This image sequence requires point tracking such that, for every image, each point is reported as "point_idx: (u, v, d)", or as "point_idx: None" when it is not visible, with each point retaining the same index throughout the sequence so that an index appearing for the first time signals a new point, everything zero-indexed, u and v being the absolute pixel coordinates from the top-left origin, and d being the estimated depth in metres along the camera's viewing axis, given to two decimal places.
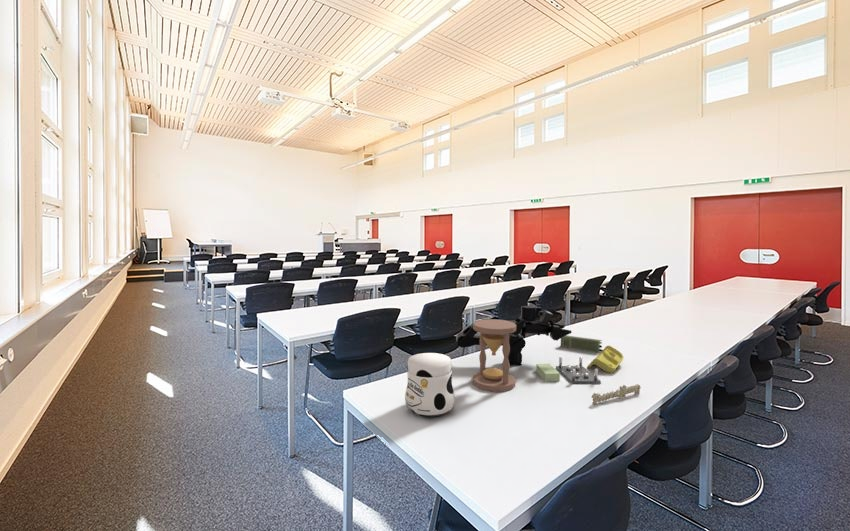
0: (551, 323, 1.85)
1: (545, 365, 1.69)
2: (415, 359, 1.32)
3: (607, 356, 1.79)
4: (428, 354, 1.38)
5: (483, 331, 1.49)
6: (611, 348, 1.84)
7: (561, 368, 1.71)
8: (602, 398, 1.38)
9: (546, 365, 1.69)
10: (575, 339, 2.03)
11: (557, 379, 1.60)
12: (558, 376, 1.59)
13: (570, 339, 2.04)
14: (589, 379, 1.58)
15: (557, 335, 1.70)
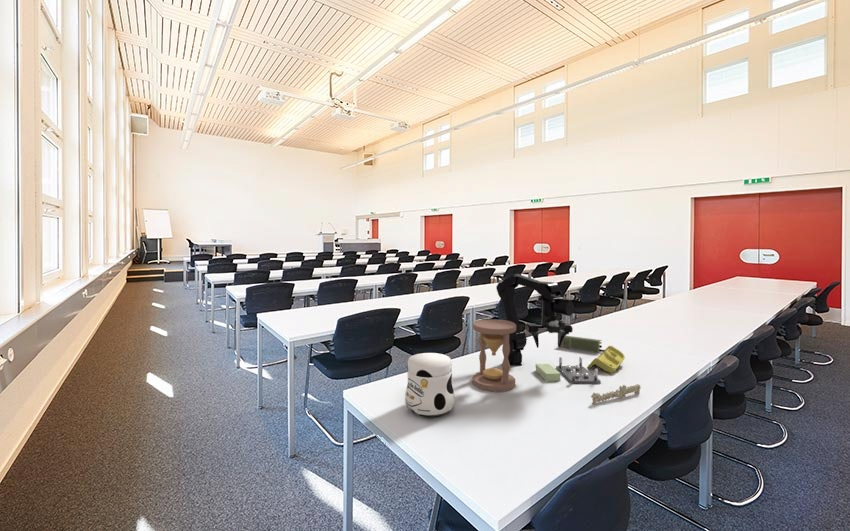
0: (561, 334, 1.63)
1: (544, 365, 1.69)
2: (415, 359, 1.32)
3: (608, 356, 1.78)
4: (428, 354, 1.38)
5: (483, 331, 1.49)
6: (613, 348, 1.84)
7: (561, 368, 1.71)
8: (602, 398, 1.39)
9: (545, 365, 1.69)
10: (575, 339, 2.02)
11: (558, 379, 1.60)
12: (559, 376, 1.60)
13: (570, 339, 2.03)
14: (589, 379, 1.58)
15: (526, 329, 1.64)
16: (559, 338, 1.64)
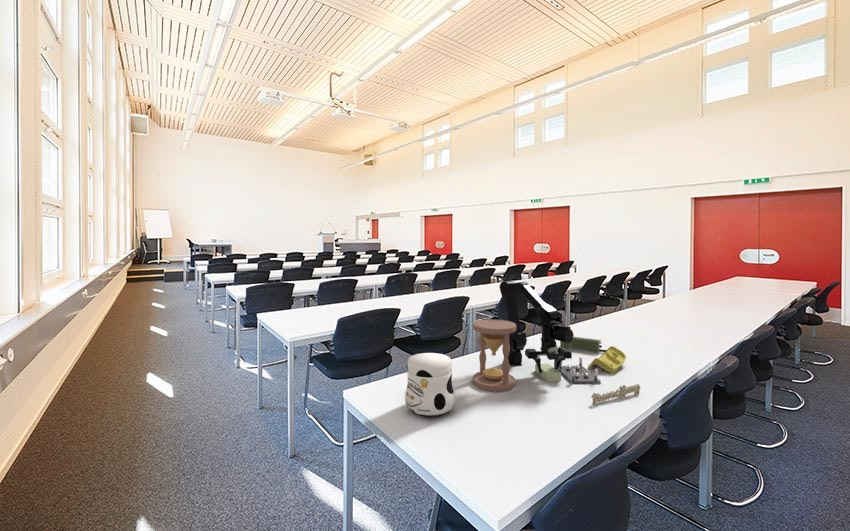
0: (557, 359, 1.64)
1: (544, 365, 1.69)
2: (415, 359, 1.32)
3: (609, 356, 1.78)
4: (428, 354, 1.38)
5: (483, 331, 1.49)
6: (614, 349, 1.83)
7: (561, 368, 1.71)
8: (602, 398, 1.39)
9: (545, 365, 1.69)
10: (575, 339, 2.02)
11: (558, 379, 1.60)
12: (559, 375, 1.60)
13: None
14: (589, 379, 1.58)
15: (526, 354, 1.65)
16: (555, 364, 1.65)
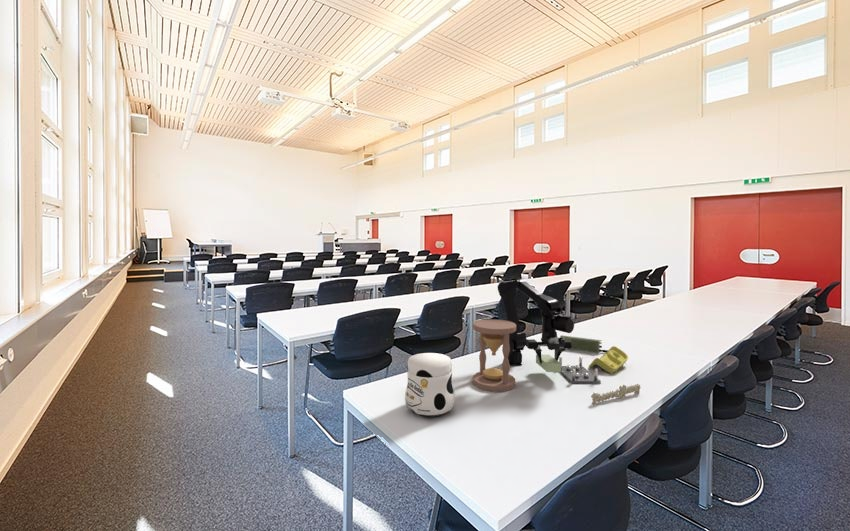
0: (557, 350, 1.63)
1: (545, 356, 1.69)
2: (415, 359, 1.32)
3: (611, 357, 1.78)
4: (428, 354, 1.38)
5: (483, 331, 1.49)
6: (616, 349, 1.83)
7: (561, 368, 1.71)
8: (602, 398, 1.39)
9: (546, 356, 1.69)
10: (575, 339, 2.02)
11: (558, 369, 1.59)
12: (559, 366, 1.59)
13: (570, 339, 2.03)
14: (589, 379, 1.58)
15: (526, 345, 1.65)
16: (556, 354, 1.64)
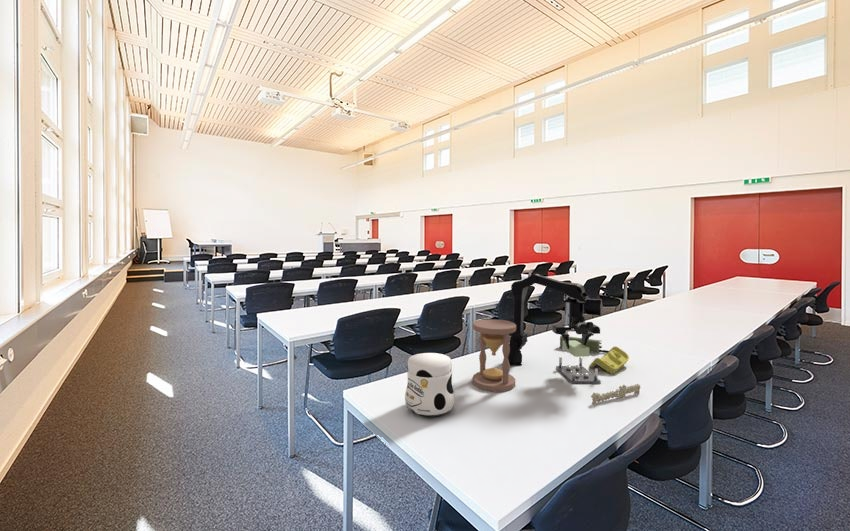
0: (585, 335, 1.63)
1: (572, 341, 1.68)
2: (415, 359, 1.32)
3: (611, 357, 1.78)
4: (428, 354, 1.38)
5: (483, 331, 1.49)
6: (617, 349, 1.82)
7: (561, 368, 1.71)
8: (602, 398, 1.39)
9: (573, 341, 1.68)
10: None
11: (587, 354, 1.59)
12: (588, 351, 1.58)
13: (570, 340, 2.02)
14: (589, 379, 1.58)
15: (553, 330, 1.64)
16: (583, 339, 1.64)
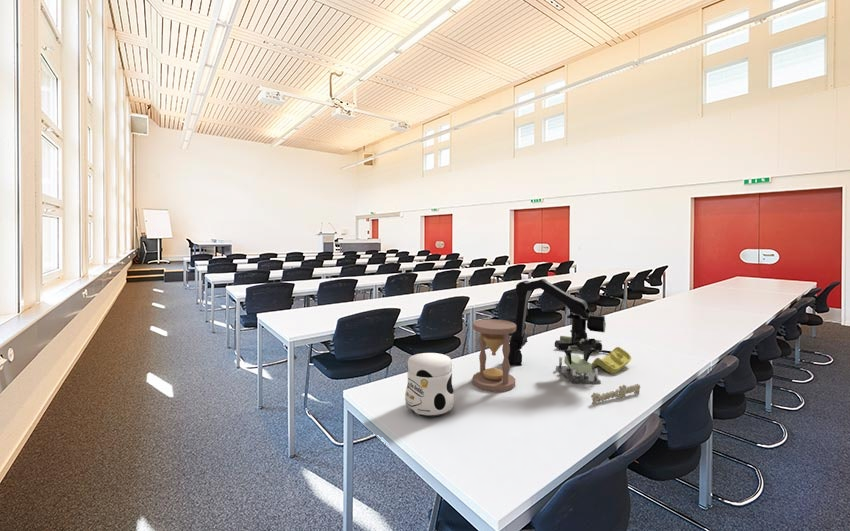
0: (587, 351, 1.63)
1: (574, 356, 1.69)
2: (415, 359, 1.32)
3: (613, 357, 1.77)
4: (428, 354, 1.38)
5: (483, 331, 1.49)
6: (620, 350, 1.82)
7: (561, 368, 1.71)
8: (602, 398, 1.39)
9: (575, 356, 1.69)
10: None
11: (589, 370, 1.60)
12: (590, 367, 1.59)
13: None
14: (589, 379, 1.58)
15: (556, 346, 1.65)
16: (585, 355, 1.65)
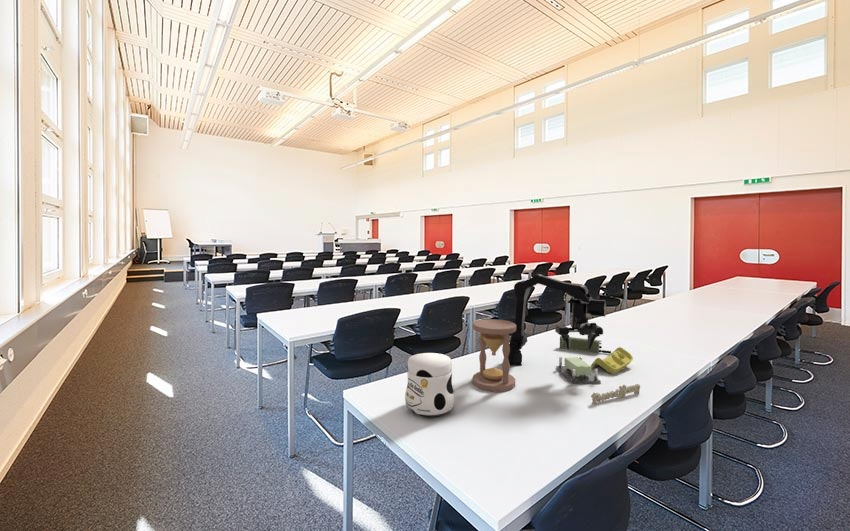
0: (591, 336, 1.63)
1: (574, 358, 1.69)
2: (415, 359, 1.32)
3: (615, 357, 1.77)
4: (428, 354, 1.38)
5: (483, 331, 1.49)
6: (622, 350, 1.81)
7: (561, 368, 1.71)
8: (602, 398, 1.39)
9: (575, 358, 1.69)
10: (575, 340, 2.01)
11: (589, 372, 1.60)
12: (590, 369, 1.59)
13: (569, 340, 2.02)
14: (589, 379, 1.58)
15: (556, 331, 1.64)
16: (589, 340, 1.64)
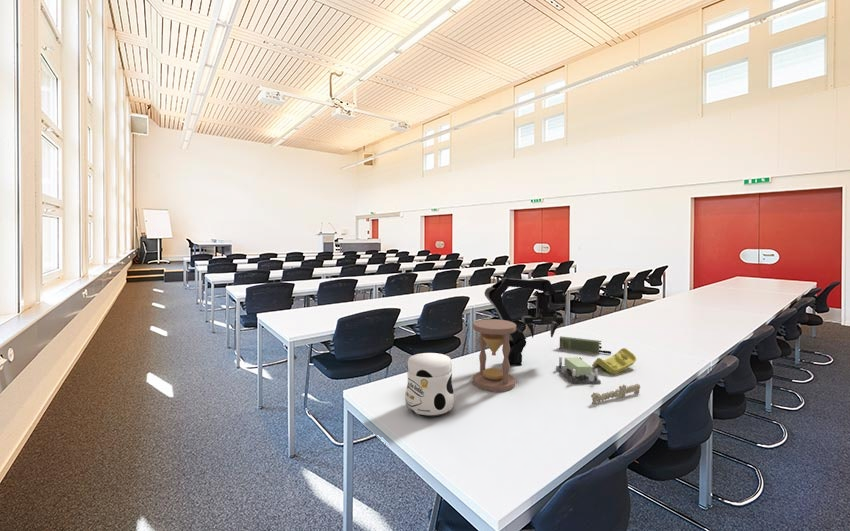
0: (553, 325, 1.81)
1: (574, 358, 1.69)
2: (415, 359, 1.32)
3: (617, 358, 1.76)
4: (428, 354, 1.38)
5: (483, 331, 1.49)
6: (626, 351, 1.80)
7: (561, 368, 1.71)
8: (601, 398, 1.39)
9: (575, 358, 1.69)
10: (574, 340, 2.00)
11: (589, 372, 1.60)
12: (590, 369, 1.59)
13: (569, 340, 2.01)
14: (589, 379, 1.58)
15: (522, 320, 1.82)
16: (552, 329, 1.82)
